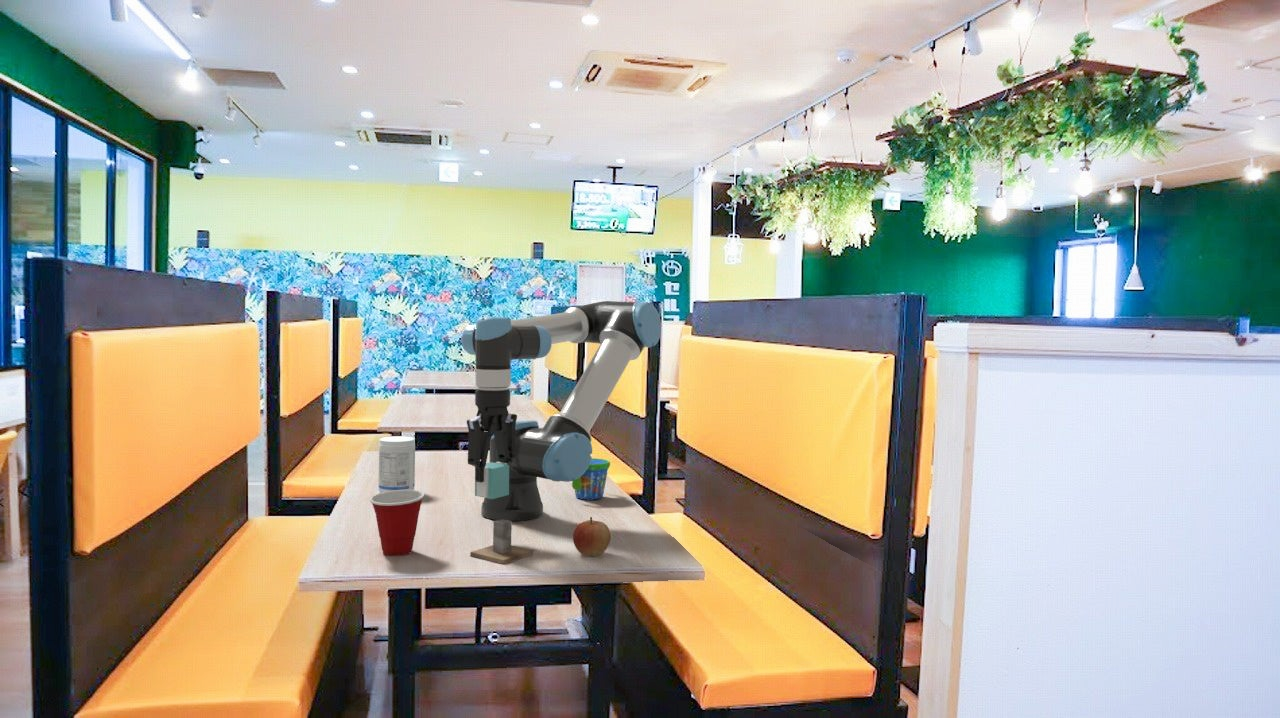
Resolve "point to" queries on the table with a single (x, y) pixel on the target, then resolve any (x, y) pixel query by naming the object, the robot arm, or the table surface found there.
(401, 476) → the supplement tub
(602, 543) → the apple
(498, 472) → the teal rectangular block
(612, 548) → the table surface
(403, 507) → the plastic cup
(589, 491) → the snack cup
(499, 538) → the peg stand
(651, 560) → the table surface
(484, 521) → the table surface
